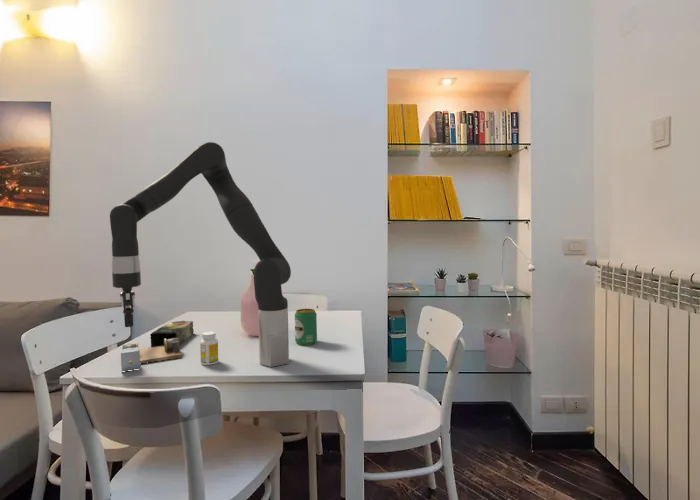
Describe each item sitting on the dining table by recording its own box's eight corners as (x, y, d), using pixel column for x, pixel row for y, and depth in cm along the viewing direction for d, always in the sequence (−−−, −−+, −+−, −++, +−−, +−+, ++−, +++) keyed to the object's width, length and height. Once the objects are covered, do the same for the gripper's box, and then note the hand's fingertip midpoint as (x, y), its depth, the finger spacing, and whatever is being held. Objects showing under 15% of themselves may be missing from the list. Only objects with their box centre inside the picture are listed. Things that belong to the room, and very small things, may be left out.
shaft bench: (176, 346, 148) (176, 332, 147) (182, 357, 135) (181, 341, 135) (123, 354, 139) (122, 339, 139) (123, 367, 127) (122, 350, 127)
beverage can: (290, 342, 151) (290, 310, 150) (307, 338, 156) (307, 307, 156) (304, 347, 145) (303, 313, 144) (321, 342, 151) (320, 310, 150)
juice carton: (170, 333, 167) (169, 319, 166) (195, 333, 167) (194, 318, 167) (149, 349, 147) (148, 332, 146) (177, 349, 147) (177, 332, 147)
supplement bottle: (198, 366, 127) (197, 335, 127) (203, 360, 133) (202, 331, 132) (216, 365, 128) (215, 335, 127) (220, 359, 133) (219, 330, 132)
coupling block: (140, 370, 125) (139, 350, 124) (121, 373, 122) (120, 353, 122) (139, 365, 129) (138, 346, 128) (121, 368, 126) (120, 349, 126)
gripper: (141, 272, 119) (143, 327, 120) (139, 267, 132) (141, 317, 133) (111, 274, 116) (114, 330, 117) (112, 269, 128) (114, 320, 129)
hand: (128, 323), depth 125 cm, fingers open, 8 cm apart
